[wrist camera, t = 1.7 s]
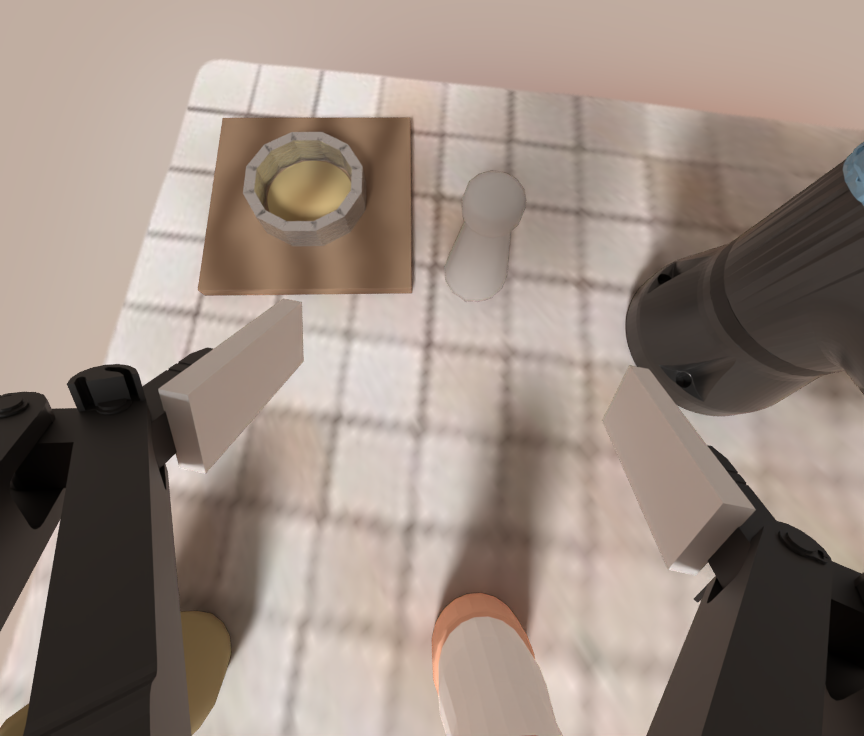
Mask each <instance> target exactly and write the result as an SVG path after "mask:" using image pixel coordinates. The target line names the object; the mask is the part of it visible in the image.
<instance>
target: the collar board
mask: <svg viewBox="0 0 864 736" xmlns="http://www.w3.org/2000/svg"><path fill="white" fill-rule="evenodd" d="M198 291H200V292H201V293H202V294H204V295H205V296H206V295H295V294H383V293H412V261H411V126H410V118H223V120H222V127H221V134H220V140H219V147H218V154H217V161H216V168H215V175H214V182H213V188H212V195H211V202H210V209H209V216H208V223H207V229H206V236H205V243H204V250H203V257H202V264H201V271H200V277H199V284H198Z"/></svg>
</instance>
